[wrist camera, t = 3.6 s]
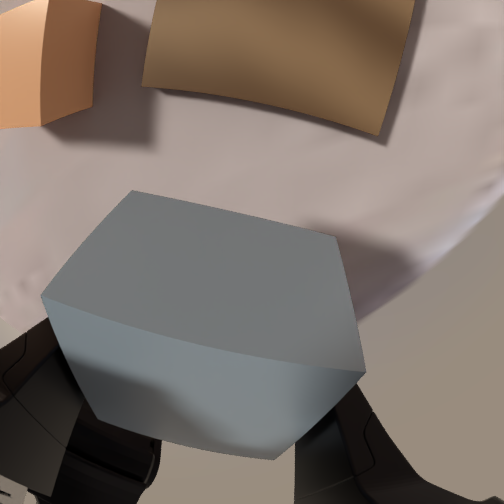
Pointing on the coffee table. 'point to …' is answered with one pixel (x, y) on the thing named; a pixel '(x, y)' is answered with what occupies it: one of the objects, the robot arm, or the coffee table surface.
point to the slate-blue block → (207, 325)
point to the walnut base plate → (283, 53)
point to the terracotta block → (47, 61)
